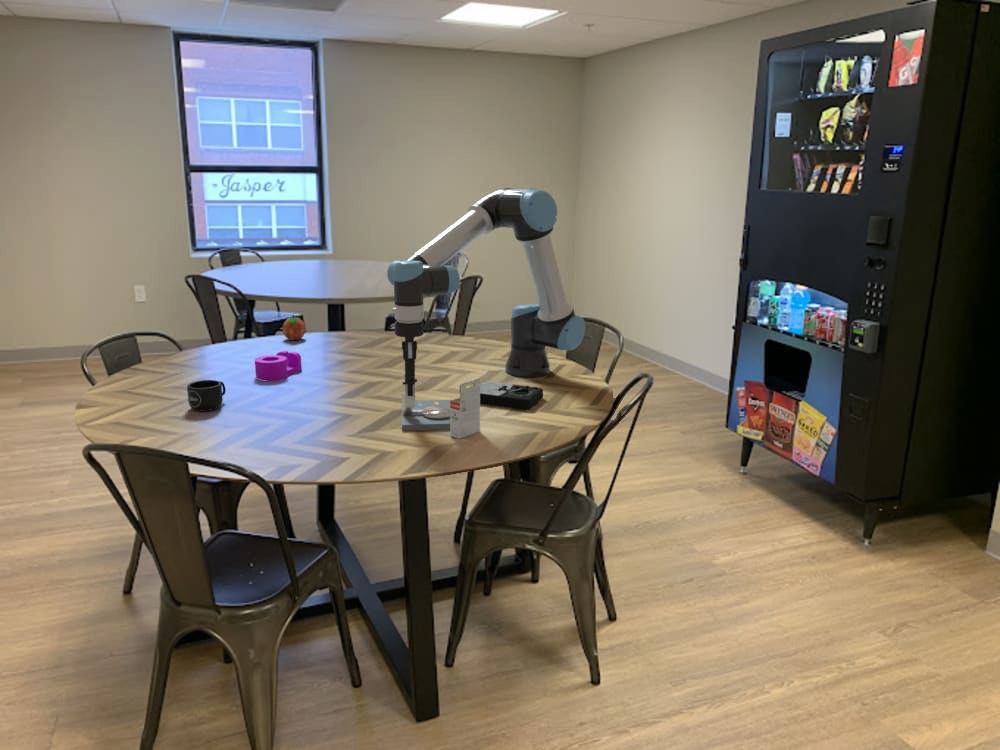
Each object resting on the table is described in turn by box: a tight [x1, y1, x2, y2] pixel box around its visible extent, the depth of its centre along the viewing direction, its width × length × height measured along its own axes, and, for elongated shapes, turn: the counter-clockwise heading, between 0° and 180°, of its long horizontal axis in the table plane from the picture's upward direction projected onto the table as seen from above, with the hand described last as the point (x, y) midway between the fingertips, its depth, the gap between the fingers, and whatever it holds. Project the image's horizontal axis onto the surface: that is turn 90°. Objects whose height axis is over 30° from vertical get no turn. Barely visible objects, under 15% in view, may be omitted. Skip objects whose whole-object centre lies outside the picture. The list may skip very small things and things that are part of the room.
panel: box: [400, 399, 452, 432], centre depth 210 cm, size 20×21×2 cm
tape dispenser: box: [254, 350, 303, 382], centre depth 248 cm, size 16×10×6 cm, turn 162°
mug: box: [186, 379, 226, 411], centre depth 214 cm, size 12×9×7 cm
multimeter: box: [480, 381, 544, 411], centre depth 225 cm, size 13×19×5 cm
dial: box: [401, 390, 450, 420], centre depth 206 cm, size 14×9×6 cm, turn 93°
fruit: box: [282, 314, 306, 341], centre depth 297 cm, size 9×10×10 cm
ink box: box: [449, 378, 481, 440], centre depth 195 cm, size 4×8×15 cm, turn 140°
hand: (410, 406), depth 204 cm, fingers closed
